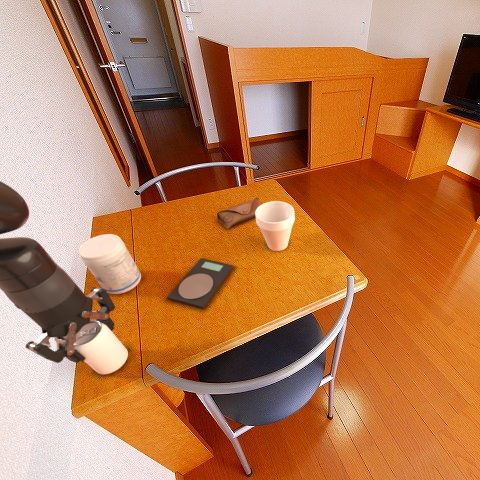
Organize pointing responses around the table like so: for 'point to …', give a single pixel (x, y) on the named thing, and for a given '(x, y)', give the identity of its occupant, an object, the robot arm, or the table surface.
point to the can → (100, 347)
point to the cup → (275, 223)
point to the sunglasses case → (238, 213)
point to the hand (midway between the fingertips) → (96, 343)
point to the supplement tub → (110, 263)
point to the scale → (200, 283)
